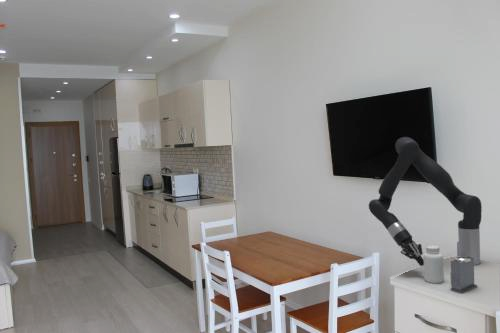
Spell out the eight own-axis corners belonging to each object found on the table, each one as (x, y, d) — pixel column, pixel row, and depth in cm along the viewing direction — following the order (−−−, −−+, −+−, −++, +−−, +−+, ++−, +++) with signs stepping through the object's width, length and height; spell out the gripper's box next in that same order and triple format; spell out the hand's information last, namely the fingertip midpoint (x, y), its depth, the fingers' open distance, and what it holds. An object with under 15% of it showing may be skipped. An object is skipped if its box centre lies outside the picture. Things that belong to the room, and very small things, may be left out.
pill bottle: (420, 279, 191) (419, 246, 190) (434, 276, 194) (433, 243, 193) (433, 284, 184) (432, 250, 183) (448, 281, 187) (447, 247, 185)
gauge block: (448, 289, 177) (447, 258, 176) (463, 283, 183) (462, 253, 183) (462, 293, 172) (461, 261, 171) (477, 286, 178) (476, 256, 178)
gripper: (394, 231, 196) (419, 263, 187) (413, 226, 203) (437, 257, 194) (385, 240, 201) (409, 272, 192) (403, 235, 208) (427, 266, 199)
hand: (423, 264), depth 193 cm, fingers closed
